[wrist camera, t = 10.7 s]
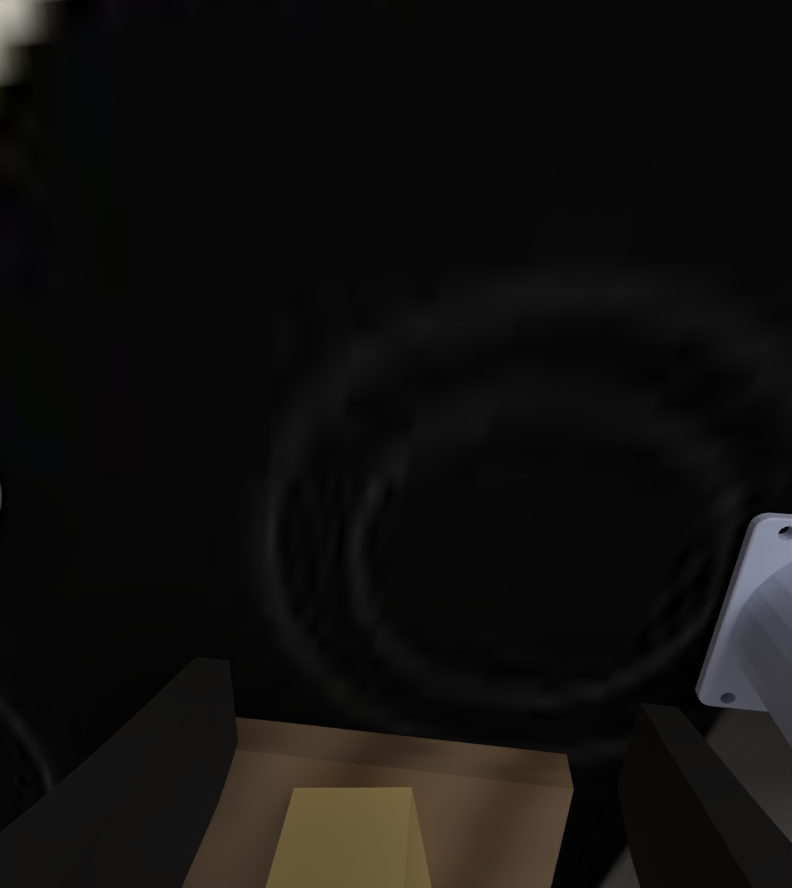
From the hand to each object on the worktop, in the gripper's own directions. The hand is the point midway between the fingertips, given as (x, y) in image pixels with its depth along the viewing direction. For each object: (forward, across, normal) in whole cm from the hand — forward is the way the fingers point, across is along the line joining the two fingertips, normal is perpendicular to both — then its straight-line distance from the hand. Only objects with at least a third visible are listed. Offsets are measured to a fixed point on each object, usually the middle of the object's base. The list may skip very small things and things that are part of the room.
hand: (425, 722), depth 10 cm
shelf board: (+9, +3, +18) cm, 21 cm away
